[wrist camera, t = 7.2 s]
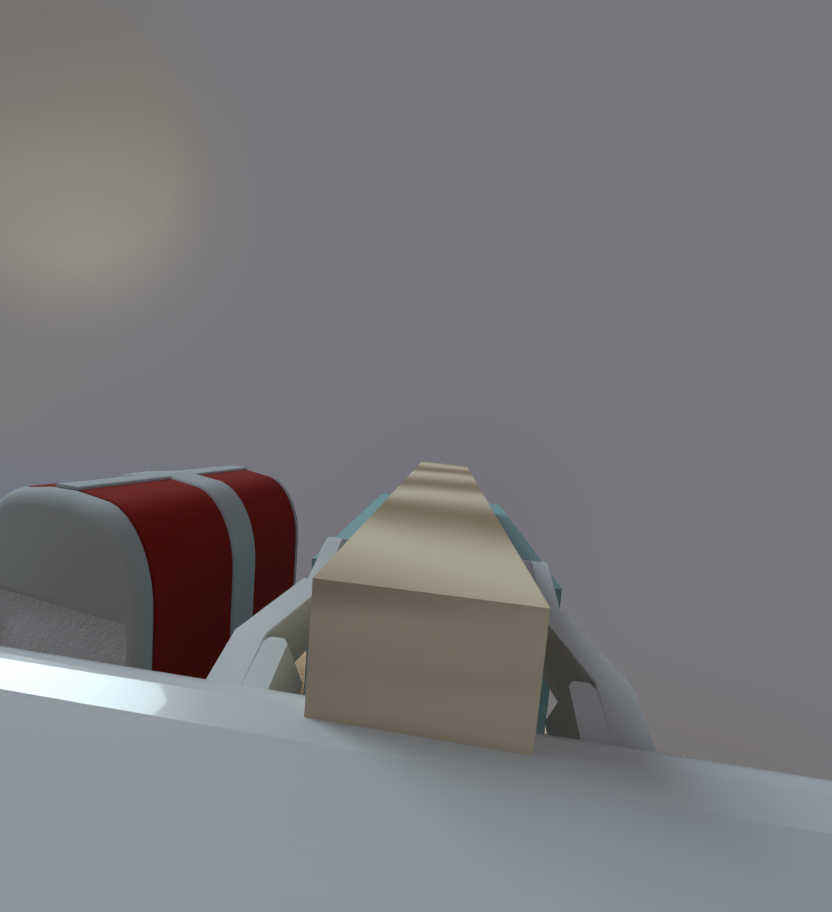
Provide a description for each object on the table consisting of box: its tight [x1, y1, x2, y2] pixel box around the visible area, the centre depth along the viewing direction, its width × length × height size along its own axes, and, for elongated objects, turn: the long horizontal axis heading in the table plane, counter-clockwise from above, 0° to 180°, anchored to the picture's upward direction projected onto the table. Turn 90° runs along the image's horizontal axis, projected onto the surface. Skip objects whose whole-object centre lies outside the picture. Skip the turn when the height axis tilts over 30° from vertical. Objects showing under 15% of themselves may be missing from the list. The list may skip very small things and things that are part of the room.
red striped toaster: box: [0, 466, 298, 679], centre depth 32 cm, size 17×18×27 cm
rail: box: [304, 462, 551, 756], centre depth 18 cm, size 24×4×4 cm, turn 175°
